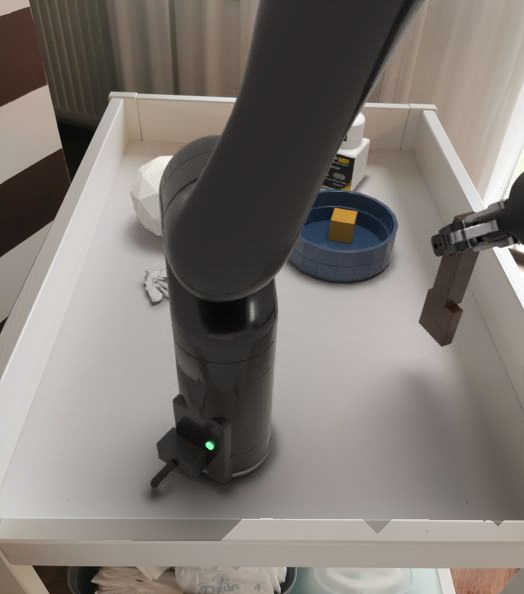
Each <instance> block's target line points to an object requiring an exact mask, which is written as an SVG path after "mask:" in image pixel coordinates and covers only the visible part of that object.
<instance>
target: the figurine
mask: <svg viewBox="0 0 524 594" xmlns="http://www.w3.org/2000/svg"><path fill="white" fill-rule="evenodd" d="M173 156H174V155H160V156H158V157H155V158H153V159H152V160H150V161H149V162H147V163H145V164H143V165H142V166H139V168H138V169H137V171H136V175H135V177H134V180H133V183H132V186H131V188H130V190H129V194H130V197H131V202H132V206H133V210H134V213H135V216H136V219H137V220H138V221H139V222H140V224H141V225H142V226H143V227H144V228H145V229H146V230H148V231H149V232H150V233H152V234H154V235H156V236H159V237H162V230H161V218H160V208H159V185H160V181H161V177H162V174H163V172H164V170H165V168H166V166H167V164H168V162H169V161H170V160H171V158H172V157H173Z"/></svg>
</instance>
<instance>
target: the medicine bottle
mask: <svg viewBox="0 0 524 594" xmlns="http://www.w3.org/2000/svg"><path fill="white" fill-rule="evenodd" d="M365 125H366V117H365V116H364V114H363V113H362V112H360V113H359V115H358V116H357V118H356V120H355V121H354V123H353V125H352V127H351V128H350V130H349V132H348V134H347V135H346V137H345V139H344V141H343V143H342V145H341V147H340V149H339V150H338V152H337V154H336V156H335V158H334V161H333V163H332V165H331V167H330V169H329V171H328V173H327V175H326V177H325V180H324V182H323V184H322V186H321V188H325V189H327V190H348V191H354V190H355V188H356V187H357V186H359V184H360V182H361V181H362V180H363V179H364V177H365V175H366V169H367V163H368V157H369V150H370V144H371V139H370V138H368V137H367V138H366V137H364V131H365Z"/></svg>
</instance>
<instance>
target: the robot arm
mask: <svg viewBox="0 0 524 594" xmlns="http://www.w3.org/2000/svg"><path fill="white" fill-rule="evenodd" d="M425 2H426V0H258V3H257V9H256V12H255V16H254V23H253V28H252V31H251V38H250V43H249V48H248V52H247V57H246V58H247V59H246V63H245V69H244V72H243V76H242V79H241V83H240V87H239V90H238V93H237V95H236V99H235V102H234V105H233V107H232V110H231V111H230V115H229V117H228V119H227V121H226V124H225V126H224V128H223V129H222V132H221V134H212V135H211V134H209V135H206V136H201V137H198V138H196V139H193V140H192V141H190V142H188V143H186V144H185V145H183V146H182V147H180V149H178V150H177V151H176V152H175V153H174V154H173V155H172V156H173V157H172V158H171V160H170V161H169V162H168V164H167V166H166V168H165V170H164V172H163V174H162V177H161V181H160V185H159V208H160V218H161V230H162V236H161V240H162V245H163V254H164V260H165V262H164V263H165V269H166V274H167V277H166V281H167V286H168V290H167V291H168V296H169V297H168V303H169V304H168V307H169V313H170V321H171V329H172V338H173V347H174V355H175V356H174V358H175V366H176V367H175V368H176V376H177V385H178V386H177V387H178V394H177V395H176V396H175V397H173V399H172V409H173V418H174V425H175V427H174V426H172V427H171V428H170V430H168V431H167V432H166V433H165V434H164V435H163V436H162V437H161V438H160V439H159V440H158V441H157V442H156V443H155V444H156V450H157V451H156V452H157V456H158V459H159V460H160V461H161V462H163V463H165V464H166V465H164V466H163V467H162V468H161V469H160V470H159V471H158V472H157V473H156V474H155V475H154V476H153V478H151V480H150V482H149V485H150V487H151V488H152V489H156V488H158V487H159V485H160V484H161V482H163V480H164V479H166V478H167V476H169V475H170V474H171V473H172V472H173V471H174V470H175V471H177V472H179V473H180V474H182V475H183V476H185V477H186V478H188V479H190V480H191V481H193V482H194V481H195V480H196V479H197V478H198V477H199V476H200V474H201V473H202V474H205V475H207V476H208V477H210V478H211V479H213V480H214V481H216V482H217V483H219V484H221V485H222V486H225V485H227V484H228V483H229V481H231V480H232V479H235V478H241V477H243V476H246V475H248V474H250V473H253V472H255V471H256V470H257V469H258V468H259V467H261V465H263V463H264V462H265V461H266V460H267V458H268V456H269V453H270V450H271V446H272V445H271V444H272V435H271V434H272V433H271V431H272V415H273V414H272V413H273V397H274V384H275V383H274V382H275V381H274V380H275V364H276V350H277V337H278V335H277V334H278V325H279V302H278V293H277V285H276V277H277V275H278V274H279V273H280V271H282V270H283V268H284V266H285V265H286V263H287V261H288V260H289V256H290V254H291V252H292V250H293V248H294V246H295V244H296V242H297V240H298V238H299V236H300V233H301V231H302V229H303V226H304V224H305V222H306V220H307V217H308V215H309V213H310V211H311V208H312V206H313V204H314V202H315V200H316V197H317V195H318V193H319V191H321V188H322V187H321V186H322V184H323V182H324V180H325V177H326V175H327V173H328V171H329V169H330V167H331V165H332V163H333V161H334V158H335V156H336V154H337V152H338V150H339V149H340V147H341V145H342V143H343V141H344V139H345V137H346V135H347V134H348V132H349V130H350V128H351V127H352V125H353V123H354V121H355V120H356V118H357V116H358V115H359V113H361V111H362V110H363V108H364V107H365V105H366V103H367V101H368V100H369V98H370V97H371V95H372V93H373V91H374V89H375V88H376V86H377V85H378V83H379V81H380V79H381V78H382V75H384V72H385V70H386V68H387V66H388V65H389V63H390V62H391V60H392V58H393V56H394V54H395V52H396V51H397V49H398V47H399V46H400V43H401V42H402V41H403V38H404V36H405V35H406V33H407V31H408V30H409V28H410V26H411V24H412V23H413V21H414V20H415V18H416V17H417V14H418V13H419V11H420V9H421V8H422V7H423V5H424V4H425ZM475 212H476V213H474V214H471V215H468V216H466V218H465V220H464V221H463V220H461V221H458V220H455V221H453V220H452V221H451V223H449V224H447V225H445V226H443V227H441V228H440V229H439V230H437V231H438V233H437V234H434V235H432V236H431V238H430V243H431V247H432V251H433V254H434V256H436V257H437V258H439V257H440V258H441V257H442V256H443V255H449V256H451V255H455V254H454V253H456V252H460V253H462V252H465V251H466V250H467V249H470V248H471V249H472V250H473V251H474V252H479V251H480V252H483V251H486V250H490V249H493V248H496V247H497V248H499V249H502V248H506V247H510V246H513V245H517V244H520V243H521V245H523V246H524V171H522V172H521V173H520V174H518V176H517V177H516V179H515V180H514V182H513V183H512V185H511V187H510V191H509V194H508V197H507V198H505V199H501V200H498V201H496V202H492V203H490V204H488V206H487V208H484V209H483V210H479V211H475ZM480 252H479V253H480Z"/></svg>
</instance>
